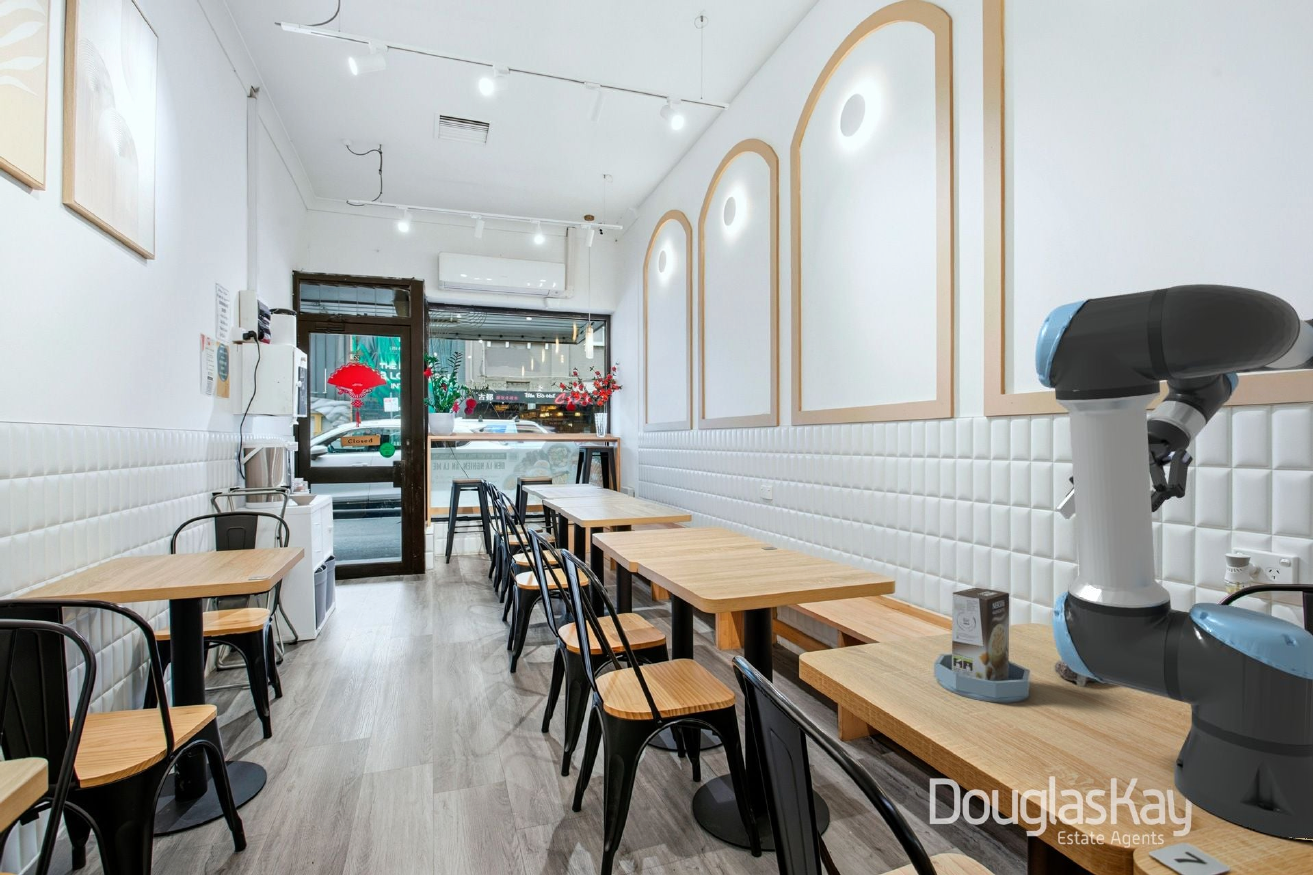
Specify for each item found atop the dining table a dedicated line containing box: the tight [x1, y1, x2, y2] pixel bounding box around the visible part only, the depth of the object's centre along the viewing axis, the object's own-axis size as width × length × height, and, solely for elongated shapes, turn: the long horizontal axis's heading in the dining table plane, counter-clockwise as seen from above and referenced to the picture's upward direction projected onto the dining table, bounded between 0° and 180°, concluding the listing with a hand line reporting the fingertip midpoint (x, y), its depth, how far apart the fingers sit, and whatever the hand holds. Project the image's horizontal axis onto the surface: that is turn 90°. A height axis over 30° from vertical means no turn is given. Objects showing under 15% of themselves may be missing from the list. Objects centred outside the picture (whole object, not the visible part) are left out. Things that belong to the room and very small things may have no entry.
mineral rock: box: [1054, 659, 1099, 687], centre depth 120 cm, size 15×8×4 cm, turn 111°
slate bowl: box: [933, 653, 1031, 704], centre depth 115 cm, size 15×15×4 cm
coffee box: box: [951, 587, 1010, 681], centre depth 115 cm, size 9×6×16 cm
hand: (1094, 518), depth 108 cm, fingers open, 13 cm apart
